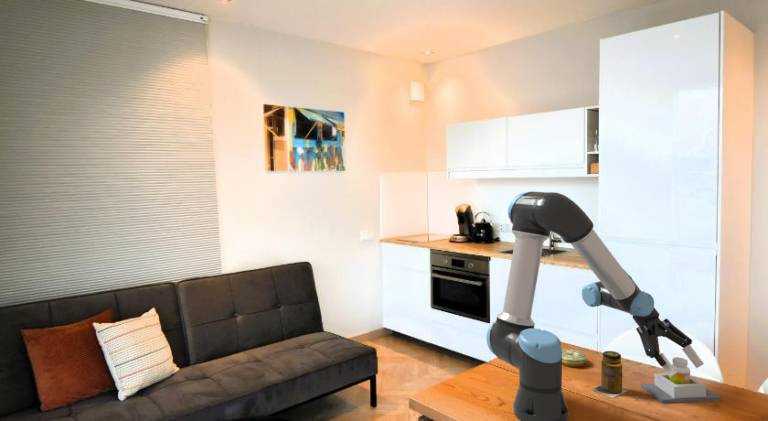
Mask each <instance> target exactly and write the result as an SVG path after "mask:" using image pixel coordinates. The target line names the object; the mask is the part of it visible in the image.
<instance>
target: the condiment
mask: <svg viewBox="0 0 768 421" xmlns="http://www.w3.org/2000/svg"><path fill="white" fill-rule="evenodd" d="M600 365H601V366H600V367H601V368H600V371H601V373H600V374H601V376H600V378H601V379H600V383H601V384H600V385H597V386H596V387H593V388H591V390H592V391H594V392H597V393H599V394H601V395H603V396H606V397H609V398H612V399H613V398H616V397H617V396H620V395H621V396H622V395H623V394H625V393H626V392H628V391H629V390H627V389H624V388H623V363H622V355H621V353H620V352H617V351H614V350H613V351H612V350H606V351H604V352H602V359H601V363H600Z"/></svg>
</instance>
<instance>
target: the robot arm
mask: <svg viewBox="0 0 768 421" xmlns="http://www.w3.org/2000/svg"><path fill="white" fill-rule="evenodd" d="M507 217H508V219H509V222H510V223H511V224H512V227H511V232H512V234H513V236H514V237H515V239H514V244H513V248H512V249H513V251H512V258H511V262H510V268H509V272H508V273H509V274H508V280H507V284H506V285H507V286H506V289H505V290H506V291H505V297H504V303H503V309H502V311H501V312H500V313H498V314H497V315H496V320H495V321H494V322H492V324H491V325H489V327H488V329H487V331H486V332H487V333H486V344H487V347H488V349H489V350H490V352H491V353H492V354H493V355H495V357H496V358H498V359H499V360H500V361H503V362H505V363H507V364H508V365H510V366H512V367H513V368H515V369H517V370H518V372H519V376H518V377H519V378H518V379H519V380H518V381H519V385H518V386H519V387H518V388H517V392H516V394H515V398H514V401H513V406H512V407H513V414H514V416H515V417H516V418H517V419H519V420H520V421H568V420H569V407H568V404H567V401H566V399H565V396H564V393H563V390H562V389H563V388H562V387H563V385H562V383H563V380H562V379H563V376H562V375H563V365H562V350H563V349H562V341H561V340H560V338H559V337H558V336H557V335H556V334H555V333H553V332H550V331H548V330H545V329H543V330H542V329H540V328H535V326H536V325H535V324H536V323H535V322H534V320H533V319H532V311H533V306H534V300H535V294H536V288H537V284H538V283H537V282H538V276H539V271H540V265H541V261H542V260H541V258H542V253H543V247H544V242H545V241H547V240H549V239H550V237H551V233H554V234H556V235H558V236H559V237H560V238H561V239H562V240H563V242H564V243H566V244H570V245H571V247H572V248H573V249H574V250H575V251H576V252H577V253H578V255H579V257H580V258H582V260H583V262H585V264H586V265H587V267H589V269H590V270H591V271H592V273H593V274H594V276H596V278H597V279H598V280H599V281H596V282H591V283H590V284H587V285H584V286H583V288H581V297H582V300H583V302H584V303H585V304H586V305H587V306H589V307H590V308H592V307H593V308H595V307H600V306H603V307H604V306H605V307H608V308H611V309H614V310H617V311H618V310H619V311H621V312H624V313H628V314H629V315H630V316H632V319H633V321H634V322H635V323H636V324H637V326H638V327H636V328H635V330H636V332H637V333H638V335H639V338H640V341H641V344H642V347H643V349H644V352H645V355H646V356H647V357H650V359H654V360H656V362H657V363H658V365H659V366H660V367H662V369H663V371H664V373H667V375H668V376H669V377H671V376H673V375H674V374H676V373H677V371H676V370H675V369H674V367H673V366H672V363H671V362H670V360H669V359H668V358H667V356H665V354H664V353H663V352H660V344H659V338H660V337H662V338H667V339H668V340H670V341H671V342H673V343H675V344H677V345H678V346H679V347H681V350H682V352H684V354H685V356H686V357H687V358H688V359H689V361H690V362H691V363H692V365H693V366H694V367H695V368H696V369H697V368H700V367H701V366H703V365H704V364H705V363H704V362H703V360H702V359H701V358H700V356H699V355H698V354H697V352H696V351H695V350H694V349H693V347H692V346H691V345H692V344H693V339H692V338H691V337H689V336H688V335H687V334H686V333H684V332H683V331H682V330H680V329H679V328H678V327H677V326H675V325H674V324H673V323H672V322H671V321H670V320H669V319H668V318H665V319H663V320H661V319H660V313H659V311H658V310H657V309H656V307H655V300H654V297H653V296H652V294H650V293H648V292H645V291H643V290H641V289H640V287H639V285H638V284H636V282H635V281H634V279H633V278H632V276H631V275H630V274H629V273H628V272H627V271H626V270H625V269H624V268H623V267H622V266H621V264H620V263H619V262H618V260H617V259H616V258H615V257H614V255H613V254H612V253H611V251H610V250H609V248H608V247H607V245H606V244H605V243H604V241H603V240H602V238H600V236H599V235H598V233H597V232H596V231H595V230H594V223H593V221H592V220H591V218H590V217H589V215H587V213H586V212H585V211H584V210H583V208H581V206H579V205H578V204H577V203H576V202H574V200H572V199H571V198H570V197H568V196H566V195H565V194H562V193H559V192H553V191H551V192H545V191H532V190H531V191H527V192H526V191H525V192H521V193H519V194H517V195H516V196H515V197H514V198H512V200H511V201H510V202H509V206H508V209H507Z"/></svg>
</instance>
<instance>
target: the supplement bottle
mask: <svg viewBox="0 0 768 421" xmlns="http://www.w3.org/2000/svg"><path fill="white" fill-rule="evenodd" d="M671 361H672V363H671V365H672V366H673V367H674V369H675V370H676V371H677V373H676V374H674V375H673V376H671V377H670V381H671V382H673V383H674V384H690V376H691V370H690V369H691V368H690V367H689V366H688V364H689V362H688V359H685V358H683V357H672V360H671Z"/></svg>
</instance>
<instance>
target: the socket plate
mask: <svg viewBox="0 0 768 421" xmlns="http://www.w3.org/2000/svg"><path fill="white" fill-rule="evenodd" d="M640 388H641V389H643V390H644V391H645V392H646V393H648V394H650V396H652V397H654V398H655V400H658V401H659V402H660V403H661V404H667V403H688V402H689V403H693V402H694V403H695V402H713V401H714V402H715V401H717V402H718V401H721V400H722V399H721V398H722V397H721V396H719V395H718V394H716V393H715V392H713V391H712V390H710V389H708V388H707V385H706V384H704V383H703V382H701V381H699V380H698V379H696V378H695V377H693V376H691V375H690V384H674V383H673V382H671V381H670V377H669V376H668V375H667V373H666V372H664V373H663V372H662V373H661V372H660V373H654V383H640Z"/></svg>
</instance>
